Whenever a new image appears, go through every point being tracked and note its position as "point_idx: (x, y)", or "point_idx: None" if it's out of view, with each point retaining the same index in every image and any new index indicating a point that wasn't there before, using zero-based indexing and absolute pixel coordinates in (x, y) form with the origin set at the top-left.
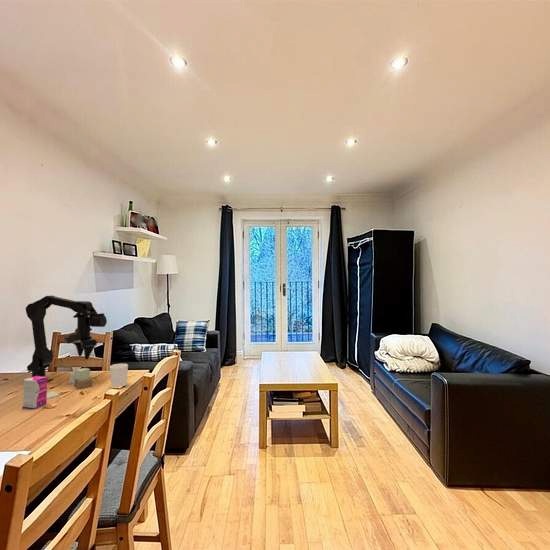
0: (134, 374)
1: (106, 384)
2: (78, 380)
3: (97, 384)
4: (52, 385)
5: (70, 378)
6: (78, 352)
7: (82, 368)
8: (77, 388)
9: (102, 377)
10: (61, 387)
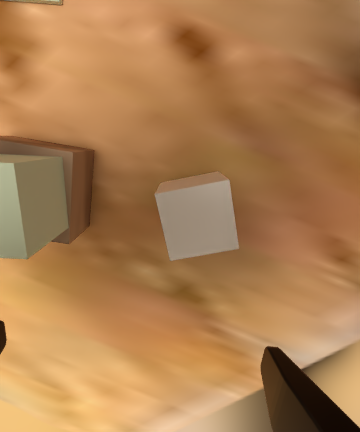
0: (78, 421)
1: (3, 277)
2: (3, 151)
3: (39, 250)
4: (248, 67)
5: (213, 176)
6: (293, 395)
7: (15, 224)
8: (23, 138)
9: (156, 322)
10: (147, 89)
